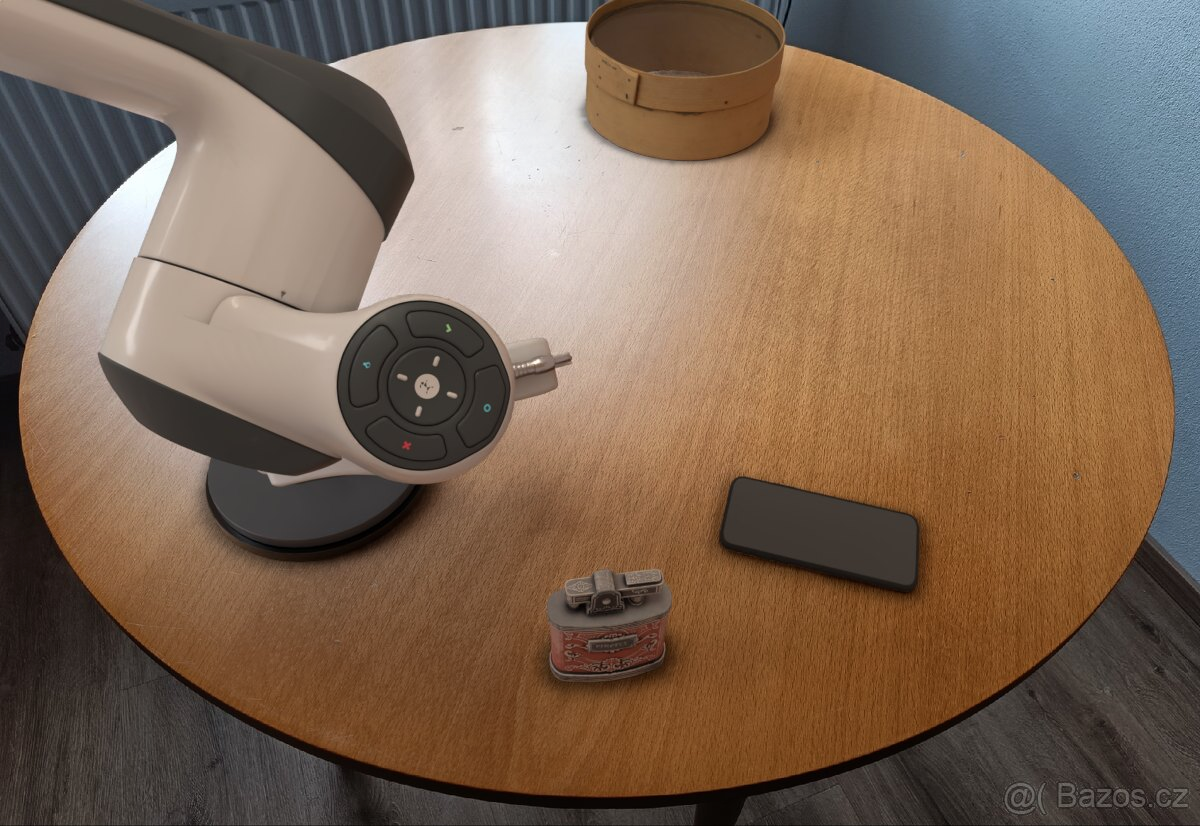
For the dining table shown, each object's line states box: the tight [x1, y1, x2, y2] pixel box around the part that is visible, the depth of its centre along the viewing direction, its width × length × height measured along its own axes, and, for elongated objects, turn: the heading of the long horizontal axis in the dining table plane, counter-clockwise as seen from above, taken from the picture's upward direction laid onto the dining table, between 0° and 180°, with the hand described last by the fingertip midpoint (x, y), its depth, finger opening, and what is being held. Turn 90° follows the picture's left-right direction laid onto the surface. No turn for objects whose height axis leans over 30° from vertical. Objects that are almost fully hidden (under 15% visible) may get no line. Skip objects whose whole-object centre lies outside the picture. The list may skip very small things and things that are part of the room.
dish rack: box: [207, 457, 416, 548], centre depth 66 cm, size 17×17×13 cm
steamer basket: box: [584, 0, 787, 161], centre depth 110 cm, size 25×25×11 cm
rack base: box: [205, 471, 429, 562], centre depth 71 cm, size 18×18×1 cm
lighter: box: [546, 568, 673, 683], centre depth 56 cm, size 8×3×10 cm, turn 99°
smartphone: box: [718, 475, 920, 593], centre depth 67 cm, size 7×1×15 cm
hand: (401, 401), depth 63 cm, fingers closed
